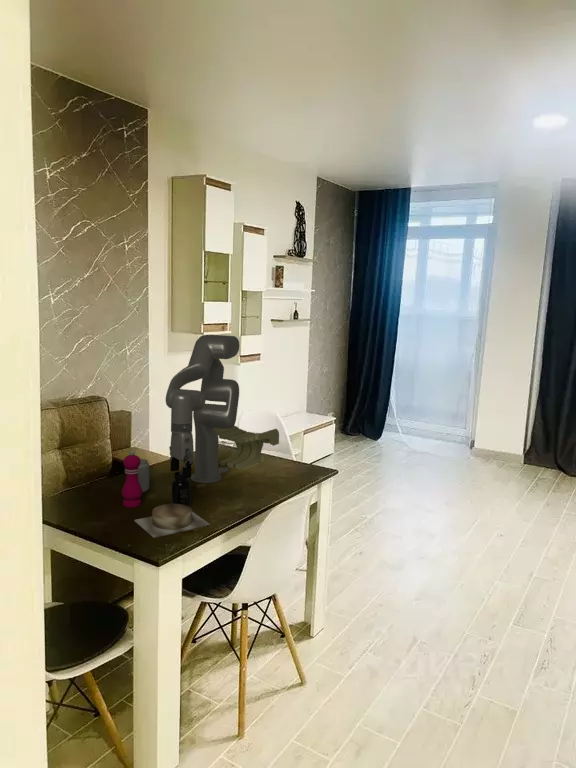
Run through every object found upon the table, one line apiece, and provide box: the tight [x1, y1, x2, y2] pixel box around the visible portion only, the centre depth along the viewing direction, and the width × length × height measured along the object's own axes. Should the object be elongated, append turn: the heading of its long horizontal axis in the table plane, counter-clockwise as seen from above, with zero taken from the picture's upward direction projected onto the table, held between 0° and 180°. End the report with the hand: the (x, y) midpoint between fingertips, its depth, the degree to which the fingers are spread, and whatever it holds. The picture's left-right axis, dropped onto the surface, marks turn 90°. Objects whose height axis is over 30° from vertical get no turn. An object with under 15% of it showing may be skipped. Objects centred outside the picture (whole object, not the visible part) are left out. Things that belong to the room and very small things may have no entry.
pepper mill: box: [121, 450, 143, 508], centre depth 215 cm, size 7×7×20 cm
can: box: [138, 458, 150, 494], centre depth 231 cm, size 8×8×12 cm
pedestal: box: [134, 503, 211, 539], centre depth 201 cm, size 20×16×5 cm
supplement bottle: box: [171, 470, 192, 507], centre depth 217 cm, size 7×7×12 cm
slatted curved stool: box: [214, 425, 280, 470], centre depth 271 cm, size 30×16×18 cm, turn 57°
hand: (180, 474), depth 216 cm, fingers open, 9 cm apart
